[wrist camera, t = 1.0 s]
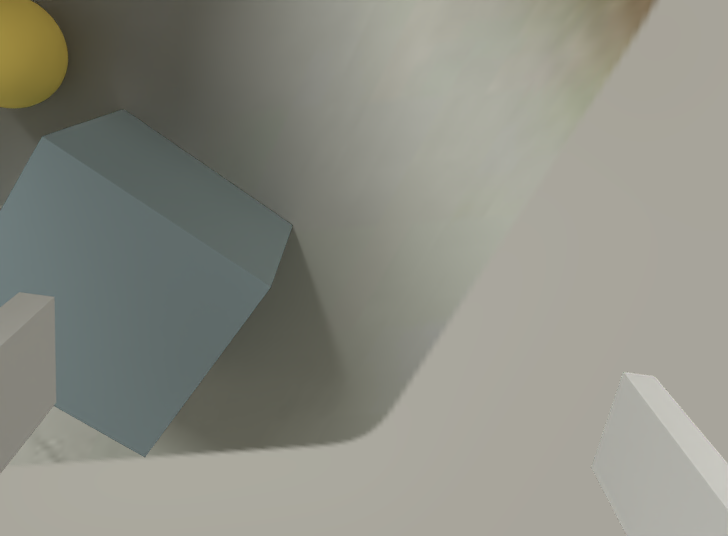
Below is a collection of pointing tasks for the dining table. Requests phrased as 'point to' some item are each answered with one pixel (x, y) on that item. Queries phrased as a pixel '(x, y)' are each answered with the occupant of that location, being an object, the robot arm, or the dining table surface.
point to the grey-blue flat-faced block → (134, 268)
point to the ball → (29, 54)
